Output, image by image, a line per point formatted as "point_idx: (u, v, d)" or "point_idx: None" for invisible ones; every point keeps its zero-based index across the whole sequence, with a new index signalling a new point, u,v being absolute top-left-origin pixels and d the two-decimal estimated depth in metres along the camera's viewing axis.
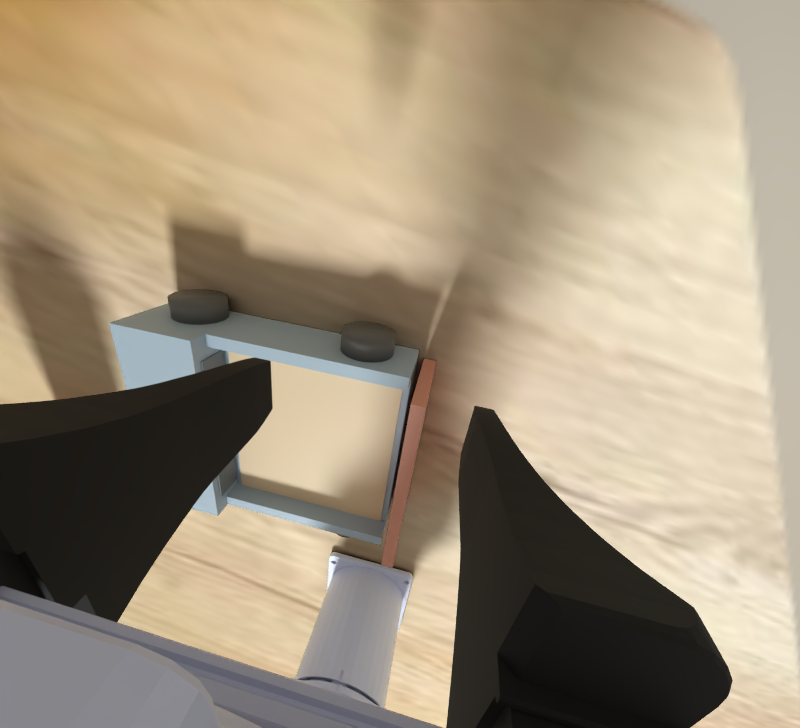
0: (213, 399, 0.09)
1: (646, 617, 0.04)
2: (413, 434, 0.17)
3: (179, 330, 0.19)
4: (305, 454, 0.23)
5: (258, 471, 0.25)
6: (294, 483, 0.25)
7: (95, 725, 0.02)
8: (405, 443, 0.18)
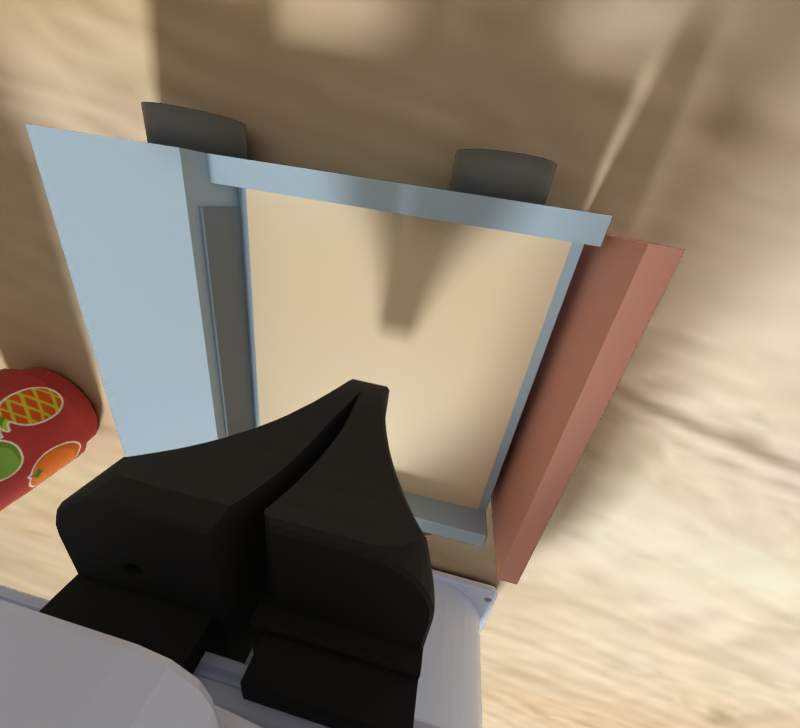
0: (336, 428, 0.09)
1: (352, 536, 0.04)
2: (632, 320, 0.08)
3: None
4: None
5: None
6: None
7: (96, 724, 0.02)
8: (608, 342, 0.09)
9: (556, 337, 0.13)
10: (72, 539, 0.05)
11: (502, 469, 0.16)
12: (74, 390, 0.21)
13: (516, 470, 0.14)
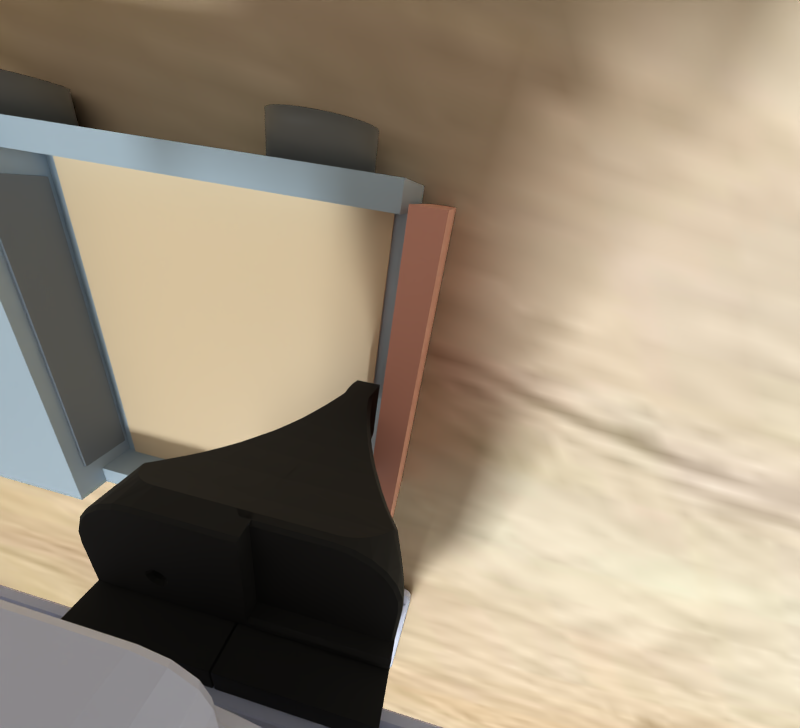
0: None
1: (321, 528, 0.04)
2: (415, 296, 0.07)
3: None
4: (225, 391, 0.13)
5: (156, 427, 0.15)
6: (214, 446, 0.15)
7: (96, 724, 0.02)
8: (396, 323, 0.08)
9: None
10: (95, 546, 0.05)
11: None
12: None
13: None
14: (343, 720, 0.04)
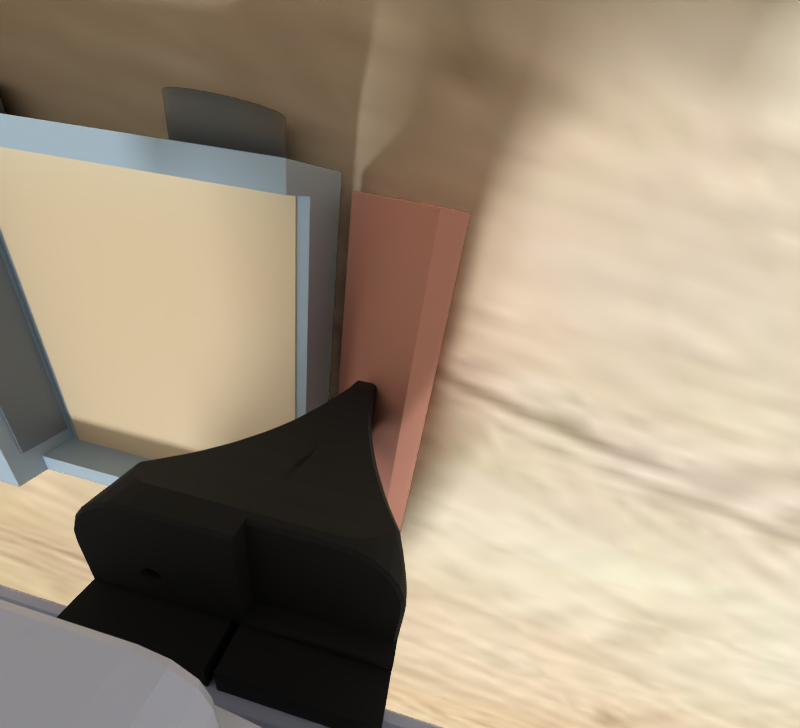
0: None
1: (323, 529, 0.04)
2: (440, 293, 0.08)
3: None
4: (156, 378, 0.14)
5: (97, 415, 0.15)
6: (152, 434, 0.15)
7: (95, 725, 0.02)
8: (423, 321, 0.08)
9: (361, 316, 0.11)
10: (90, 544, 0.05)
11: None
12: None
13: None
14: (345, 721, 0.04)
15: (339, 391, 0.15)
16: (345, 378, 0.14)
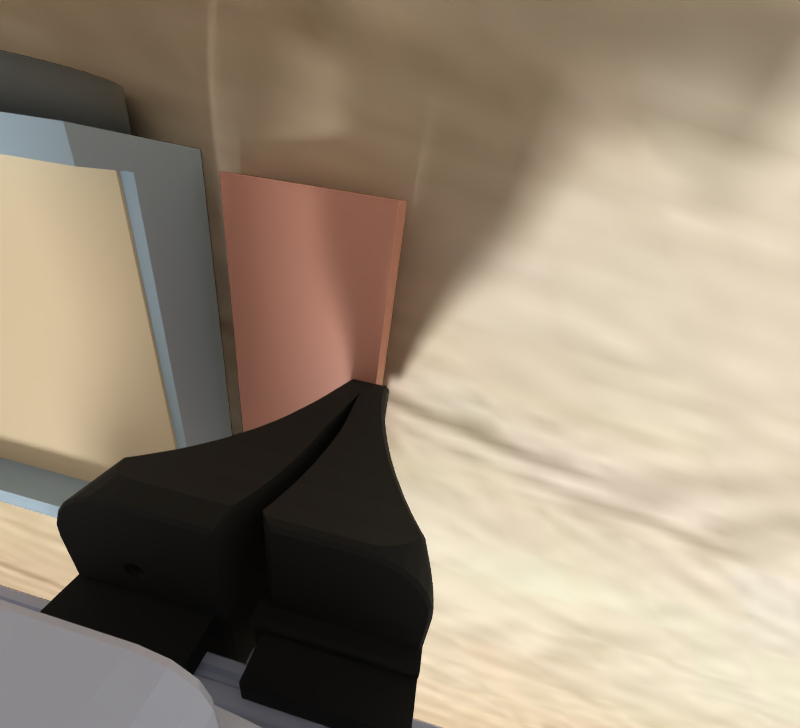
0: (337, 428, 0.09)
1: (351, 537, 0.04)
2: (394, 268, 0.10)
3: None
4: (22, 380, 0.12)
5: None
6: (33, 440, 0.14)
7: (96, 724, 0.02)
8: (388, 294, 0.10)
9: (278, 308, 0.11)
10: (73, 539, 0.05)
11: None
12: None
13: None
14: None
15: (243, 398, 0.13)
16: (254, 380, 0.13)
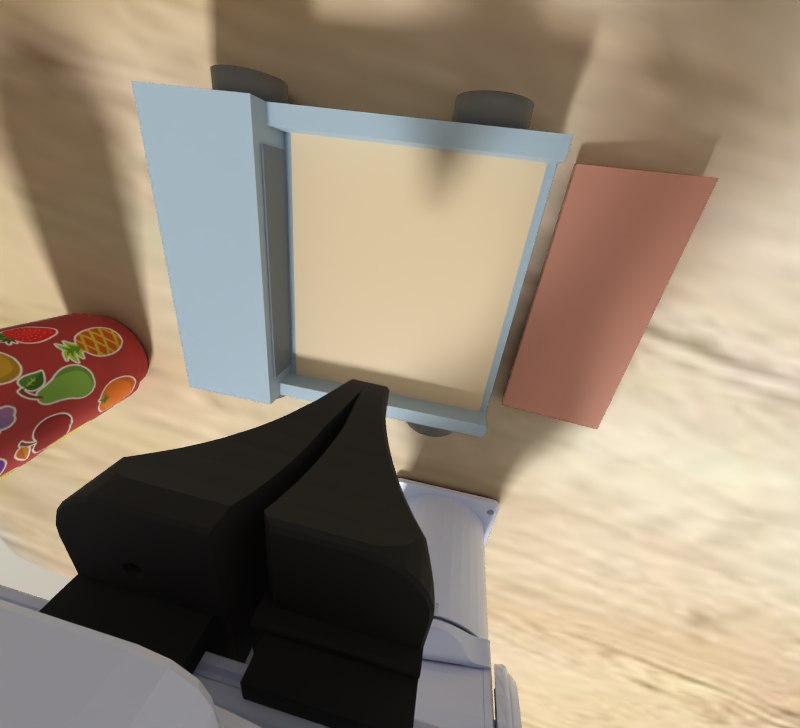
0: (336, 428, 0.09)
1: (352, 537, 0.04)
2: None
3: None
4: (386, 314, 0.18)
5: (319, 351, 0.20)
6: (367, 363, 0.19)
7: (95, 724, 0.02)
8: (686, 241, 0.15)
9: (590, 256, 0.16)
10: (72, 539, 0.05)
11: (536, 381, 0.20)
12: (129, 334, 0.24)
13: (577, 363, 0.18)
14: None
15: (529, 327, 0.18)
16: (546, 312, 0.18)
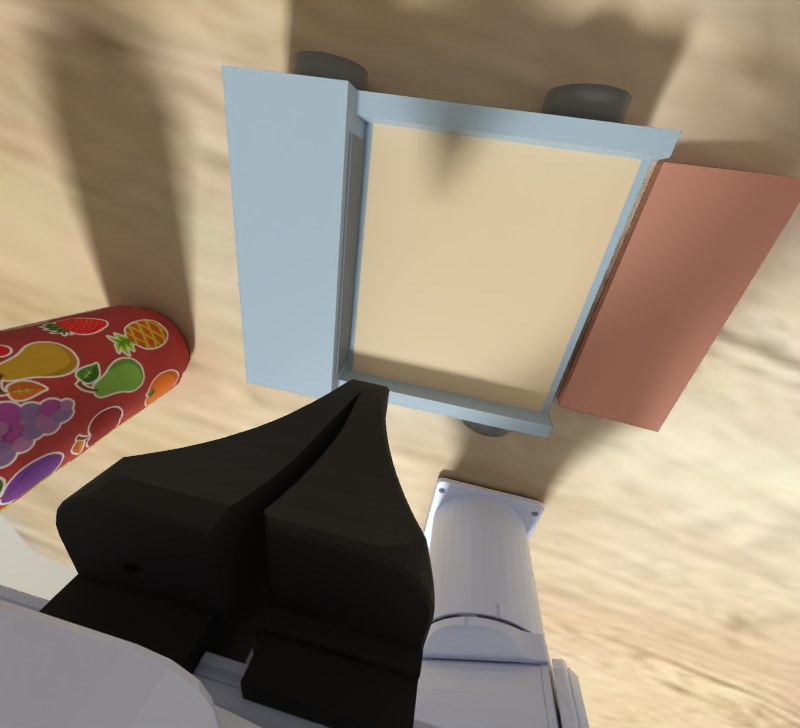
0: (336, 428, 0.09)
1: (352, 537, 0.04)
2: None
3: None
4: (454, 312, 0.17)
5: (378, 348, 0.19)
6: (428, 361, 0.19)
7: (95, 725, 0.02)
8: (772, 243, 0.15)
9: (668, 256, 0.16)
10: (72, 539, 0.05)
11: (597, 382, 0.19)
12: (172, 327, 0.24)
13: (643, 365, 0.18)
14: None
15: (596, 327, 0.18)
16: (615, 312, 0.18)
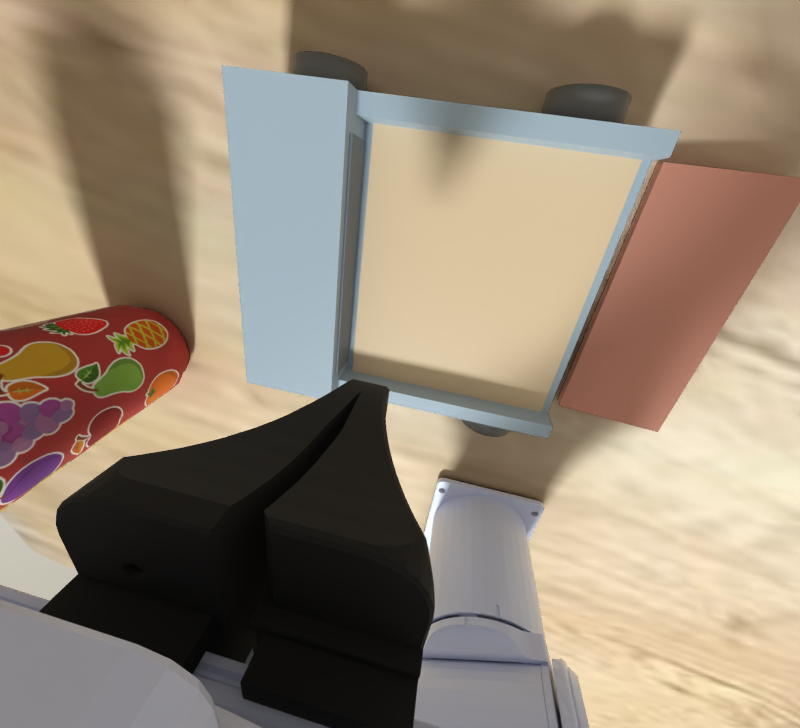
0: (336, 428, 0.09)
1: (352, 537, 0.04)
2: None
3: None
4: (454, 312, 0.17)
5: (378, 348, 0.19)
6: (428, 361, 0.19)
7: (95, 725, 0.02)
8: (772, 243, 0.15)
9: (668, 256, 0.16)
10: (72, 539, 0.05)
11: (597, 382, 0.19)
12: (172, 327, 0.24)
13: (643, 365, 0.18)
14: None
15: (596, 327, 0.18)
16: (615, 312, 0.18)
